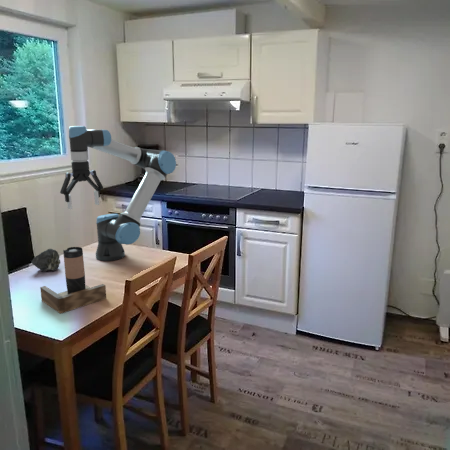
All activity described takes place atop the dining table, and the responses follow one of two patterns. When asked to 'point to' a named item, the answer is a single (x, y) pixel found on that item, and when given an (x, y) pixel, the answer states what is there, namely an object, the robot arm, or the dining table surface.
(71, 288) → the travel mug
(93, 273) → the dining table surface
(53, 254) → the rock
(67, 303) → the wooden l-shaped block
